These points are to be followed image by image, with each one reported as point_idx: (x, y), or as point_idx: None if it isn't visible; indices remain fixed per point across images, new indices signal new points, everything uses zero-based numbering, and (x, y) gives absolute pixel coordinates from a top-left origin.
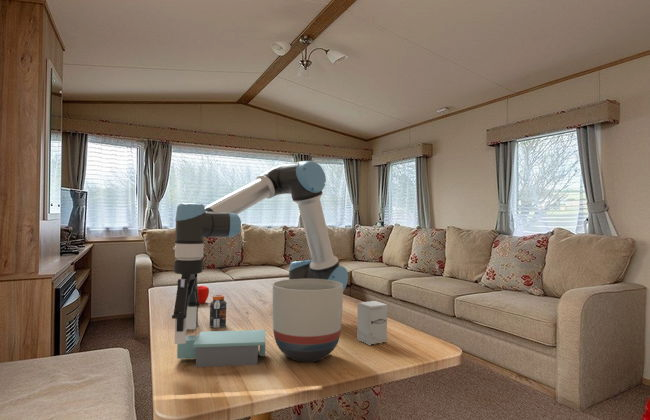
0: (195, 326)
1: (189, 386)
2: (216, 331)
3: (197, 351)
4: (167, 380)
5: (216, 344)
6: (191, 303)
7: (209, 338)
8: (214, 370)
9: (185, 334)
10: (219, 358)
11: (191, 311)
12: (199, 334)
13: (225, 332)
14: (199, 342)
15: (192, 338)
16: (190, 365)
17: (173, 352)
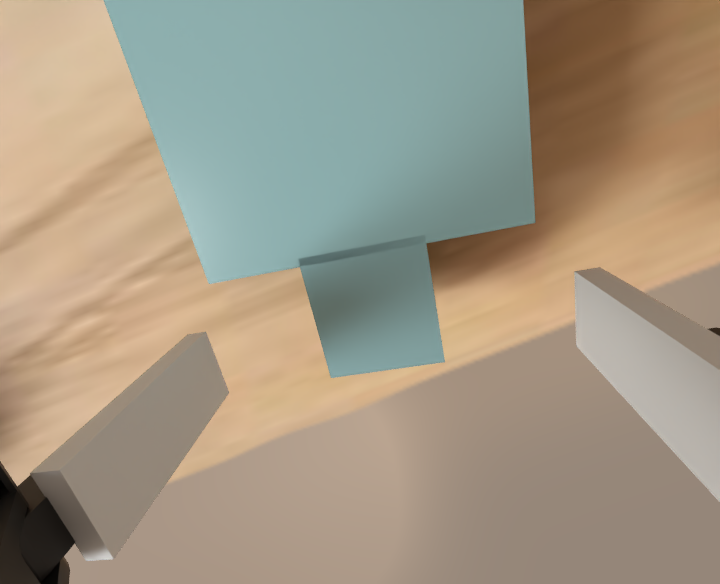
0: (194, 343)
1: (705, 124)
2: (170, 156)
3: None
4: (605, 268)
5: (522, 7)
6: (31, 565)
7: (370, 143)
8: None
9: (644, 295)
10: None
11: (126, 469)
12: (279, 268)
13: (174, 52)
14: (485, 188)
15: (383, 283)
16: None
17: (256, 378)
